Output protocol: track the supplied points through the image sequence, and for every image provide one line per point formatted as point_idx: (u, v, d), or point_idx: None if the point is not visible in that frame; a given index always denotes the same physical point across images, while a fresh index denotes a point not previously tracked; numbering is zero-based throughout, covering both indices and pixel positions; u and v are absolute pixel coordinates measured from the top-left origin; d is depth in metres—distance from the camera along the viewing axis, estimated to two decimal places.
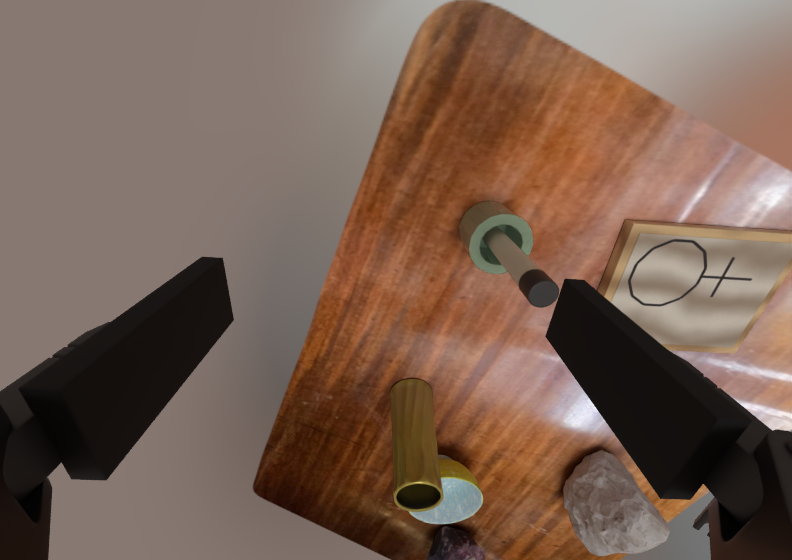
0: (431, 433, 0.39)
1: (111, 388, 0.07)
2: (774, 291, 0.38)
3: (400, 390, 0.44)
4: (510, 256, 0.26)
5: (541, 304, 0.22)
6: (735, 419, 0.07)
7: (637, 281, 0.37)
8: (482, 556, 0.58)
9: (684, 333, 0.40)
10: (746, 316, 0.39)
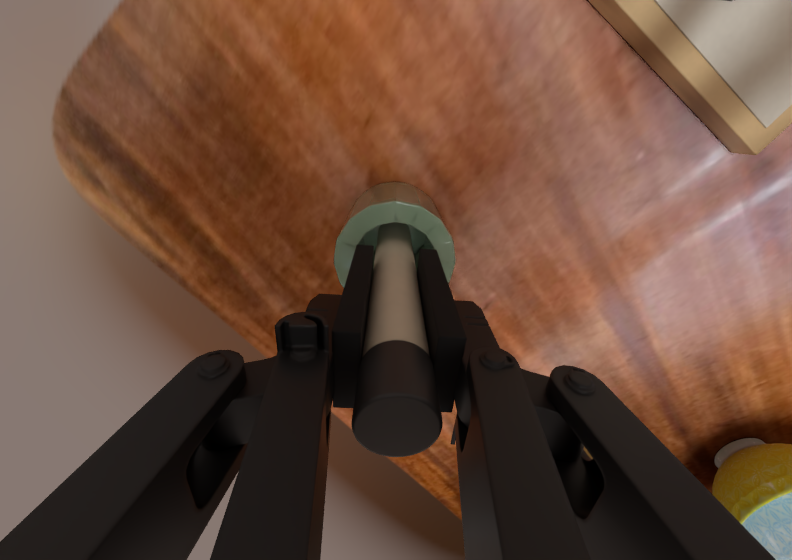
0: None
1: (362, 338, 0.10)
2: None
3: None
4: None
5: (424, 440, 0.08)
6: (453, 337, 0.08)
7: None
8: None
9: None
10: None
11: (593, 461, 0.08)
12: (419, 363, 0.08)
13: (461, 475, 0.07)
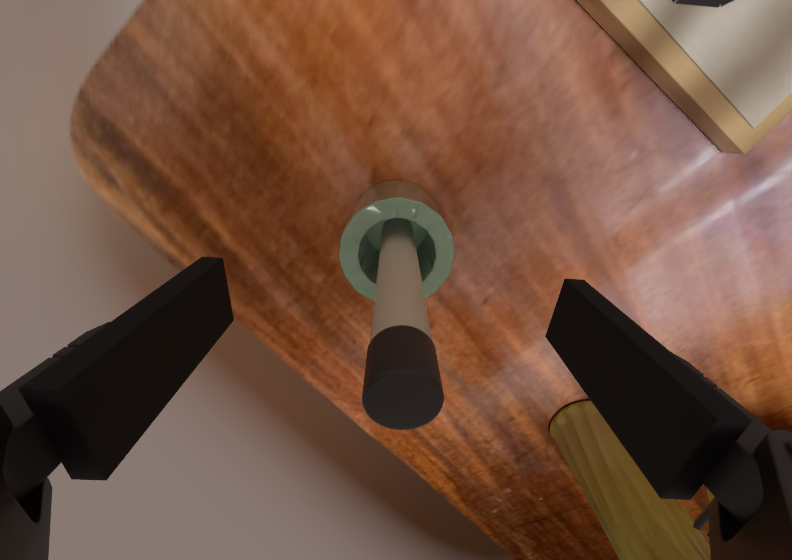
0: (644, 493, 0.22)
1: (111, 387, 0.07)
2: None
3: (559, 439, 0.29)
4: None
5: (428, 414, 0.08)
6: (735, 419, 0.07)
7: None
8: None
9: None
10: None
11: None
12: (423, 345, 0.09)
13: None
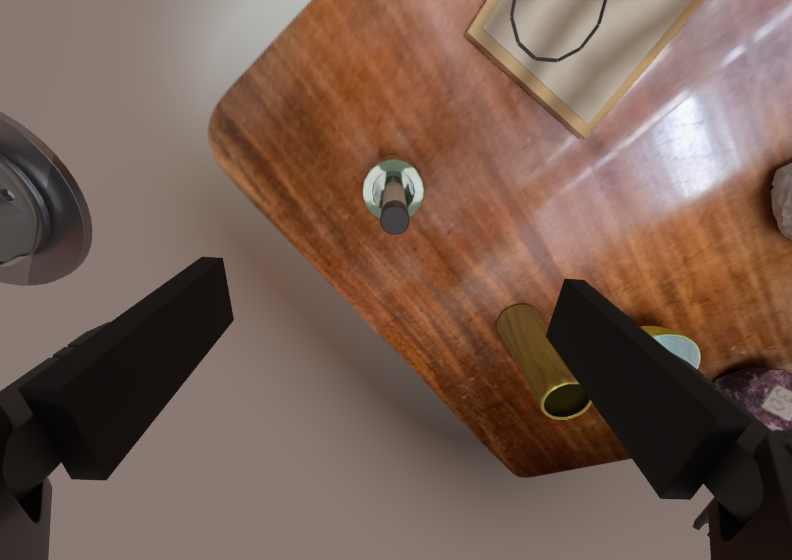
0: (541, 342, 0.37)
1: (111, 388, 0.07)
2: None
3: (501, 330, 0.44)
4: None
5: (403, 226, 0.23)
6: (735, 419, 0.07)
7: (542, 48, 0.30)
8: (788, 375, 0.44)
9: None
10: None
11: None
12: (402, 204, 0.24)
13: None
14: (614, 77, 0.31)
